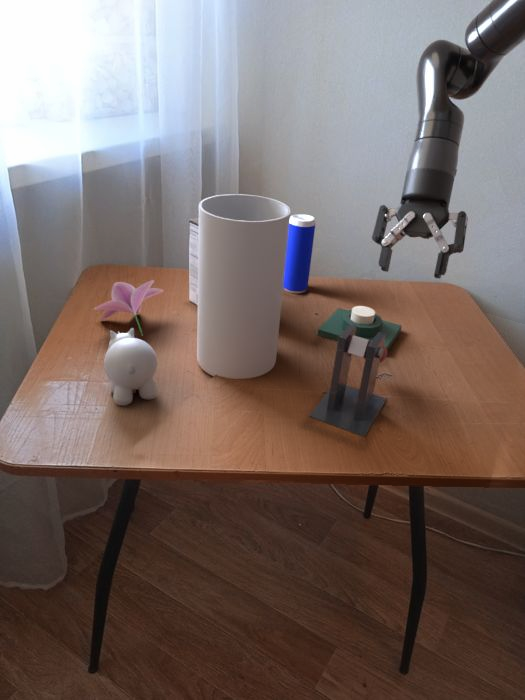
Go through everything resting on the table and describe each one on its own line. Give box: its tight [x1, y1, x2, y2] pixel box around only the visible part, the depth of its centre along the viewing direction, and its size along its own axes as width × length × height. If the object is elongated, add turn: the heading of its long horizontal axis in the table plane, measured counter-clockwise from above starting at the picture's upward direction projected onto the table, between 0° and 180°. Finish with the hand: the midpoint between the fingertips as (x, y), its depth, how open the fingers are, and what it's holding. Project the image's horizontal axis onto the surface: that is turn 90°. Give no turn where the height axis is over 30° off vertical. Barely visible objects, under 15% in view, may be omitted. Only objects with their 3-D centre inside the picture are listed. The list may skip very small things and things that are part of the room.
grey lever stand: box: [308, 324, 387, 438], centre depth 76 cm, size 10×8×13 cm
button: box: [350, 305, 376, 325], centre depth 97 cm, size 4×4×2 cm
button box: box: [317, 307, 402, 352], centre depth 98 cm, size 12×10×4 cm
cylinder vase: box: [196, 193, 291, 380], centre depth 83 cm, size 12×12×25 cm
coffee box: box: [188, 217, 199, 306], centre depth 103 cm, size 9×6×16 cm
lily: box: [92, 279, 165, 337], centre depth 95 cm, size 12×12×10 cm
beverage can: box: [283, 213, 316, 294], centre depth 111 cm, size 5×5×15 cm
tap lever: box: [348, 335, 388, 364], centre depth 79 cm, size 14×4×4 cm, turn 152°
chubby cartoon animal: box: [103, 327, 159, 406], centre depth 80 cm, size 7×12×8 cm, turn 22°
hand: (410, 274), depth 90 cm, fingers open, 8 cm apart
